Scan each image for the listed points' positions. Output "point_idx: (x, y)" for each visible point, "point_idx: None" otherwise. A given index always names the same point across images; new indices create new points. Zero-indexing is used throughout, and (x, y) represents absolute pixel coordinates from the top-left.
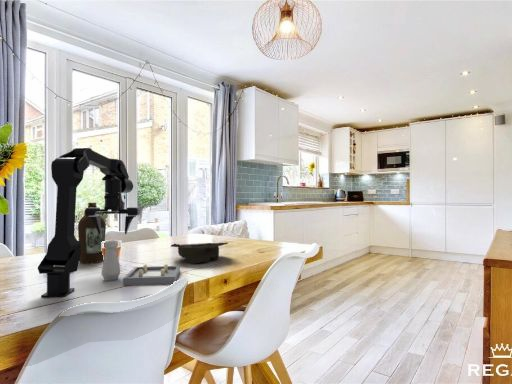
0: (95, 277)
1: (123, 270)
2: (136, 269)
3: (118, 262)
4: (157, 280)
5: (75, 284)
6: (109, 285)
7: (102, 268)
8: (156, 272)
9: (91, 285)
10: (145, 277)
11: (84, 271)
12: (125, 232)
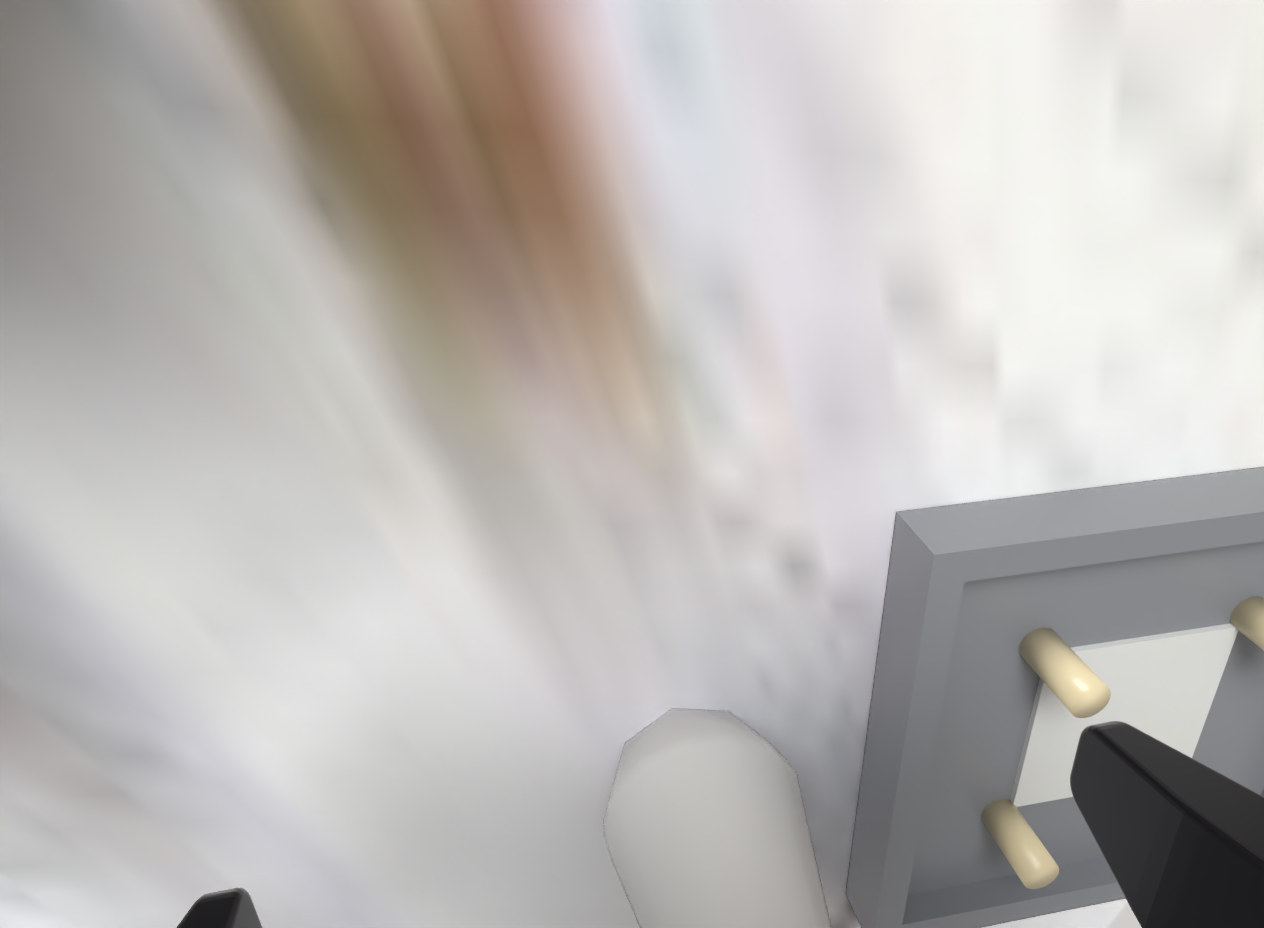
0: (476, 706)
1: (715, 372)
2: (949, 610)
3: (819, 882)
4: None
5: (401, 918)
6: None
7: (632, 906)
8: (1153, 673)
9: (573, 923)
10: (1055, 909)
11: (107, 427)
12: (1120, 849)
